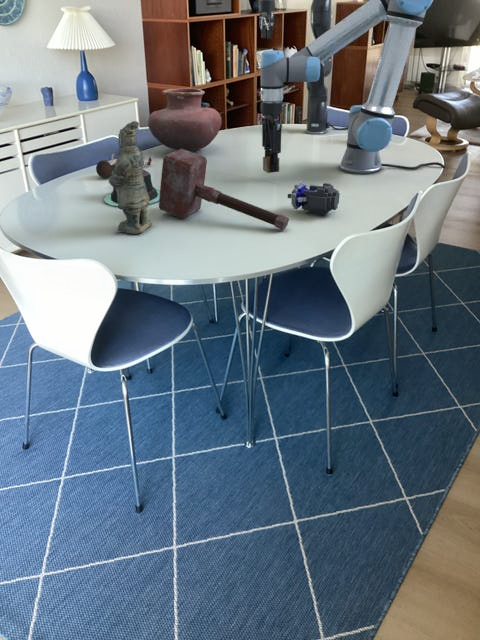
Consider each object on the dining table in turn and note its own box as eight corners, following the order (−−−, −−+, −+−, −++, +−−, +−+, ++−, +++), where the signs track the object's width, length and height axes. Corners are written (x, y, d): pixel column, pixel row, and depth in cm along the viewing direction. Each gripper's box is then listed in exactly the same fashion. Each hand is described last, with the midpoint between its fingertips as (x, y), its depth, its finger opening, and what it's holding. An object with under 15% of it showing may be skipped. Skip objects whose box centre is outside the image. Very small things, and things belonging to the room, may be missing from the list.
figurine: (158, 154, 218) (111, 160, 199) (158, 173, 221) (112, 181, 202) (133, 150, 225) (86, 155, 206) (134, 169, 228) (87, 176, 209)
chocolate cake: (91, 202, 180) (113, 186, 197) (142, 231, 182) (160, 212, 199) (107, 162, 172) (129, 148, 190) (160, 192, 174) (177, 176, 192)
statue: (131, 220, 168) (117, 116, 152) (158, 224, 164) (147, 118, 149) (109, 233, 159) (93, 124, 144) (138, 237, 156) (124, 126, 140)
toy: (295, 178, 172) (342, 184, 166) (295, 205, 177) (340, 211, 171) (285, 186, 166) (333, 192, 160) (284, 213, 170) (331, 220, 164)
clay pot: (228, 143, 251) (226, 84, 239) (213, 161, 226) (210, 95, 213) (163, 142, 256) (158, 84, 243) (142, 159, 231) (135, 95, 218)
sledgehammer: (299, 190, 156) (179, 147, 167) (285, 200, 148) (161, 154, 160) (286, 244, 166) (174, 200, 177) (272, 256, 158) (156, 209, 170)
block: (274, 168, 202) (274, 155, 200) (279, 171, 198) (279, 158, 196) (262, 170, 201) (262, 156, 198) (267, 173, 197) (267, 159, 195)
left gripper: (254, 0, 267) (254, 37, 275) (264, 0, 255) (264, 39, 263) (268, -1, 269) (268, 37, 277) (279, -1, 257) (279, 38, 265)
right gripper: (252, 98, 194) (253, 165, 206) (270, 106, 179) (270, 177, 191) (272, 96, 196) (272, 163, 208) (292, 104, 181) (290, 175, 193)
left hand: (266, 38), depth 270 cm, fingers open, 8 cm apart
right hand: (271, 170), depth 199 cm, fingers closed on block, 4 cm apart
